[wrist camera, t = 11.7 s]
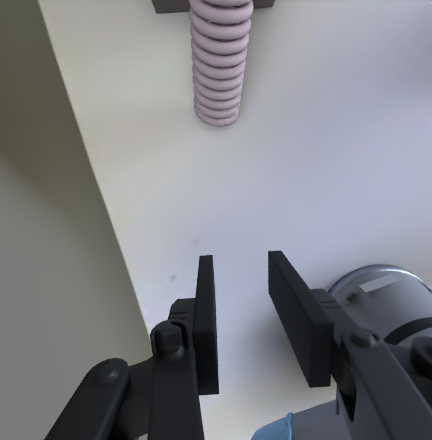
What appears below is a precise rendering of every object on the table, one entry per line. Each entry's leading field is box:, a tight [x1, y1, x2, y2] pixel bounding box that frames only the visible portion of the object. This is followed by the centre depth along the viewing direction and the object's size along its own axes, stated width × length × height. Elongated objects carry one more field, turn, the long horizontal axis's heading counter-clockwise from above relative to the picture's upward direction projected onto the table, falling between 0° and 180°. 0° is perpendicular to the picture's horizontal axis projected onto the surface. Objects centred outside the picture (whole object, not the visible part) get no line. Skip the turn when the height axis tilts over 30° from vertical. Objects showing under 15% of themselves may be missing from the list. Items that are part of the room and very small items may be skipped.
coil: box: [189, 0, 253, 126], centre depth 19 cm, size 5×5×18 cm
